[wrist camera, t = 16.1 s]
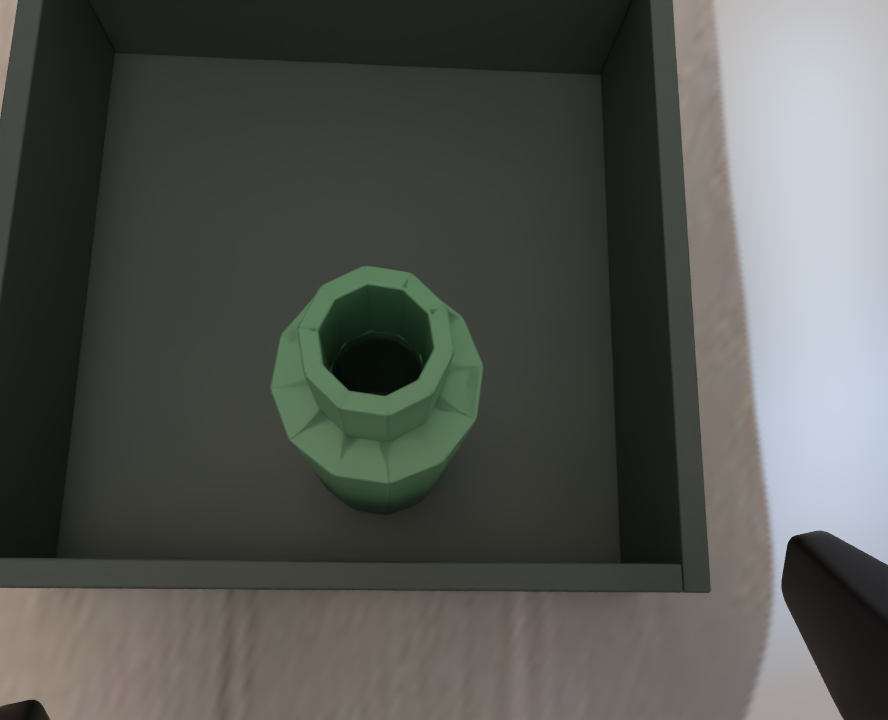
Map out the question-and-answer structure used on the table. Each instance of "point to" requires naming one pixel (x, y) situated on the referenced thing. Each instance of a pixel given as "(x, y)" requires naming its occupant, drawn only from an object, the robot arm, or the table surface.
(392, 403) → the bottle
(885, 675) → the robot arm
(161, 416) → the bin
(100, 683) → the table surface
